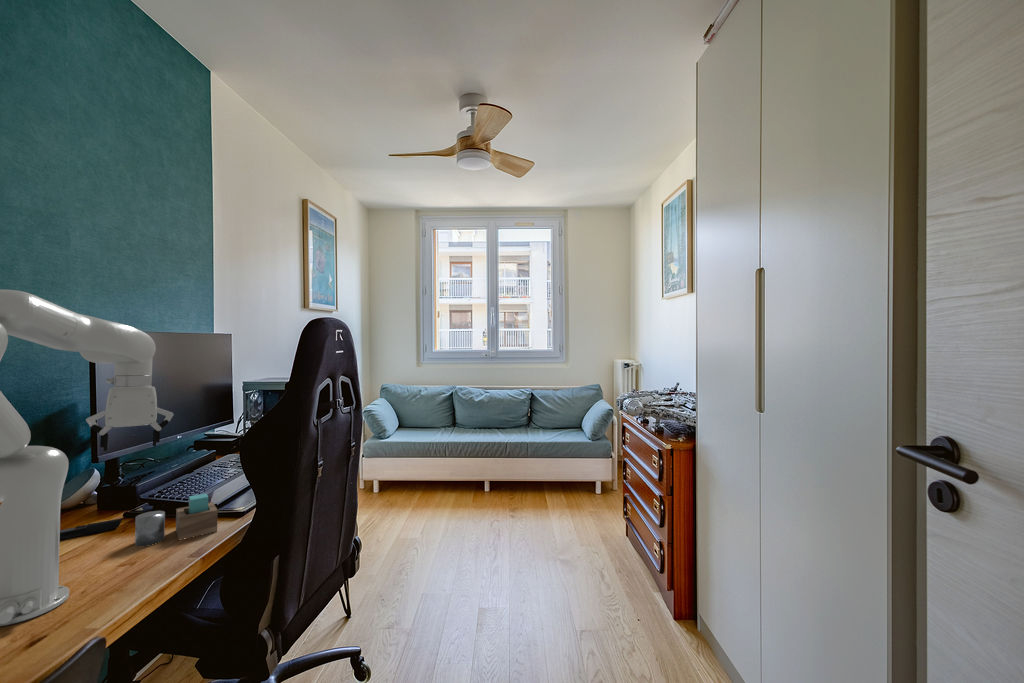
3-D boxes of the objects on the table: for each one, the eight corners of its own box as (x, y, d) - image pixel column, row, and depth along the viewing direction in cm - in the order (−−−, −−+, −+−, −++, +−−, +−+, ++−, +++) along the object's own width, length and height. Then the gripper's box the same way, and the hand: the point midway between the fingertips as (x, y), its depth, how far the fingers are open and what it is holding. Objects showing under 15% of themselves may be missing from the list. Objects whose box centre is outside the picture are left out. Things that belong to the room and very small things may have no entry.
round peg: (165, 542, 115) (165, 515, 116) (135, 549, 111) (135, 521, 112) (163, 534, 120) (164, 509, 120) (134, 541, 116) (135, 514, 116)
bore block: (217, 531, 122) (217, 510, 122) (178, 540, 116) (179, 517, 116) (212, 522, 128) (212, 501, 128) (175, 530, 123) (176, 508, 123)
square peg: (207, 525, 122) (208, 496, 123) (190, 529, 120) (190, 500, 120) (205, 521, 125) (206, 493, 125) (188, 524, 123) (189, 496, 123)
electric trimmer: (121, 531, 123) (122, 519, 123) (41, 546, 113) (41, 533, 113) (122, 527, 126) (122, 515, 126) (43, 541, 116) (44, 529, 116)
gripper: (85, 384, 107) (82, 454, 106) (175, 381, 118) (172, 446, 117) (89, 382, 113) (86, 449, 112) (174, 380, 124) (172, 441, 123)
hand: (130, 447), depth 115 cm, fingers open, 9 cm apart
